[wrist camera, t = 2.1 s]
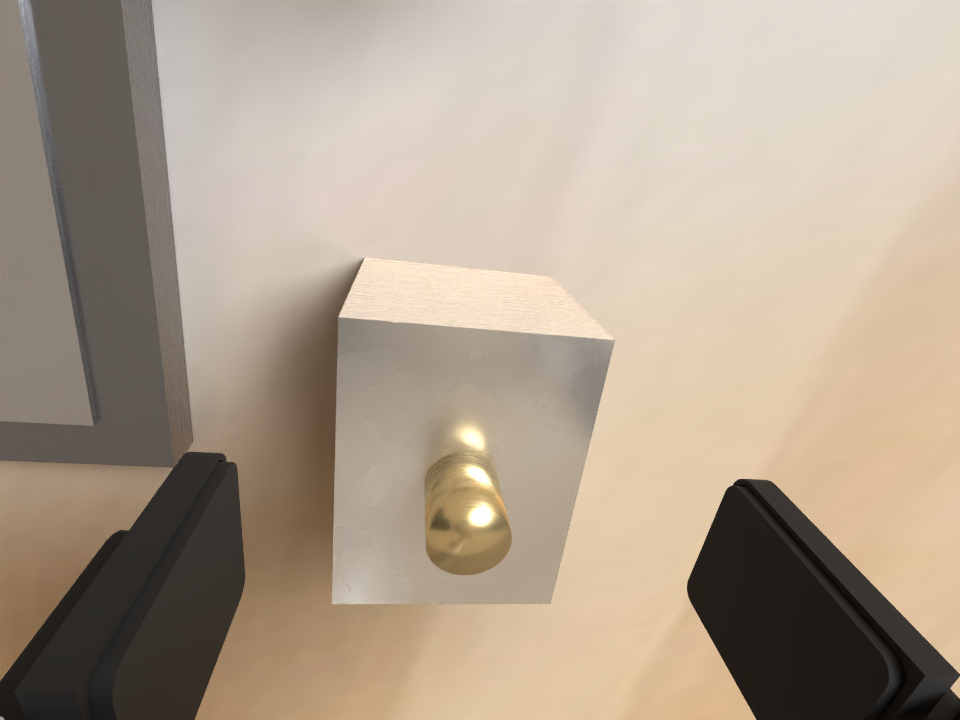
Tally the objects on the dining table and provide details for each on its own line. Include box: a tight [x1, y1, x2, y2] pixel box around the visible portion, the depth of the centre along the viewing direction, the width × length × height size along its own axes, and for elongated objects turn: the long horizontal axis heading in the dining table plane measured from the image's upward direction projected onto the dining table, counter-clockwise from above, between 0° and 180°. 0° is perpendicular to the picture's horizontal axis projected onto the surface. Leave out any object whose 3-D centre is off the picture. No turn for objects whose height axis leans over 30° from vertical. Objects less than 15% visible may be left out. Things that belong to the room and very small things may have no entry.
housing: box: [332, 258, 615, 604], centre depth 14 cm, size 8×6×8 cm
